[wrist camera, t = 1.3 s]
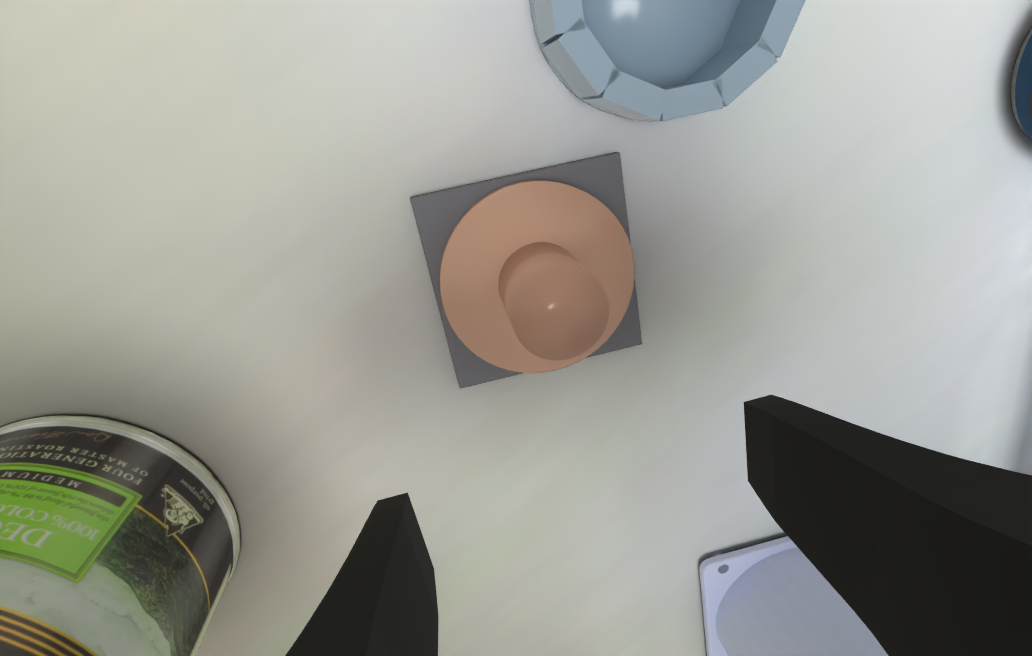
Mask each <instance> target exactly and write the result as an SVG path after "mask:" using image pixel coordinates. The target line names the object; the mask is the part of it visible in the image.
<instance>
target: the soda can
mask: <svg viewBox="0 0 1032 656" xmlns="http://www.w3.org/2000/svg"><path fill="white" fill-rule="evenodd" d="M1011 104H1012V109H1013V113H1014V116H1015V119H1016V121H1017V123H1018V125H1019V127H1020V128H1021V129H1022V131H1023V132H1024V133H1025V134H1026V135H1027V136H1028V137H1029V138H1030V139H1031V140H1032V28H1031V30H1030V31H1029V33H1028V35H1027V36H1026V38H1025V40H1024V42H1023V44H1022V46H1021V49H1020V51H1019V54H1018V56H1017V59H1016V62H1015V66H1014V70H1013V75H1012V81H1011Z"/></svg>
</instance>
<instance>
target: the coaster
mask: <svg viewBox="0 0 1032 656" xmlns="http://www.w3.org/2000/svg"><path fill="white" fill-rule="evenodd" d="M525 180H551V181H557V182H561V183H565V184H568V185H571V186H573V187H575V188H578V189H580V190H582V191H584V192H586V193H588V194H590V195H591V196H593V197H595V198H596V199H598V200H599V201H600V202H601V203H603V204H604V205H605V206H606V207H607V208H608V209H609V210H610V211H611V212H612V213H613V214H614V215H615V216H616V218H617V219H618V221H619V222H620V224H621V225H622V227H623V229H624V231H625V233H626V235H627V237H628V240H629V243H630V237H629V228H628V220H627V211H626V203H625V194H624V186H623V177H622V168H621V160H620V153H618V152H614V153H610V154H605V155H600V156H596V157H591V158H587V159H582V160H578V161H573V162H568V163H564V164H559V165H555V166H550V167H546V168H541V169H536V170H532V171H527V172H523V173H518V174H514V175H509V176H504V177H500V178H495V179H491V180H486V181H482V182H477V183H472V184H468V185H463V186H459V187H454V188H449V189H445V190H440V191H436V192H431V193H427V194H422V195H417V196H413V197H410V200H411V204H412V208H413V212H414V215H415V219H416V223H417V227H418V231H419V234H420V238H421V242H422V246H423V250H424V254H425V257H426V261H427V265H428V269H429V273H430V277H431V280H432V284H433V288H434V292H435V296H436V299H437V303H438V307H439V311H440V315H441V319H442V322H443V326H444V330H445V334H446V338H447V342H448V345H449V349H450V353H451V357H452V361H453V364H454V368H455V372H456V376H457V380H458V384H459V387H460V388H464V387H468V386H472V385H477V384H481V383H485V382H489V381H493V380H497V379H501V378H505V377H509V376H513V375H517V374H521V373H523V372H515V371H510V370H506V369H503V368H500V367H497V366H495V365H493V364H490V363H488V362H486V361H485V360H483V359H481V358H480V357H478V356H477V355H475V354H474V353H473V352H472V351H471V350H470V349H468V348H467V347H466V346H465V345H464V343H463V342H462V341H461V340H460V339H459V338H458V336H457V335H456V333H455V332H454V330H453V329H452V327H451V325H450V323H449V321H448V319H447V316H446V313H445V310H444V307H443V303H442V297H441V290H440V265H441V259H442V254H443V250H444V247H445V245H446V242H447V239H448V237H449V235H450V233H451V231H452V230H453V228H454V226H455V225H456V223H457V222H458V220H459V219H460V218H461V216H462V215H463V214H464V213H465V212H466V211H467V210H468V209H469V208H470V207H471V206H472V205H473V204H474V203H475V202H477V201H478V200H479V199H480V198H482V197H483V196H485V195H487V194H488V193H490V192H491V191H493V190H495V189H498V188H500V187H502V186H505V185H508V184H511V183H515V182H519V181H525ZM630 246H631V245H630ZM640 344H642V339H641V331H640V322H639V314H638V305H637V297H636V288H635V280H634V286H633V291H632V295H631V299H630V302H629V305H628V308H627V310H626V312H625V314H624V316H623V318H622V320H621V322H620V324H619V325H618V327H617V328H616V330H615V331H614V332H613V334H612V335H611V336H610V337H609V338H608V340H607V341H606V342H604V343H603V344H602V345H601V346H600V347H599V348H598V349H597V350H595V351H594V352H593V353H591V354H590V355H589V356H587V357H591V356H595V355H599V354H603V353H607V352H611V351H615V350H619V349H623V348H628V347H632V346H636V345H640ZM587 357H585V358H587Z"/></svg>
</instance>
